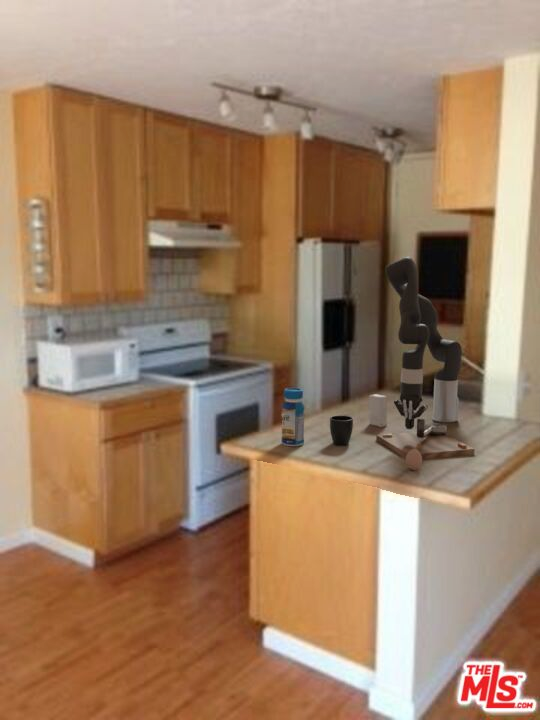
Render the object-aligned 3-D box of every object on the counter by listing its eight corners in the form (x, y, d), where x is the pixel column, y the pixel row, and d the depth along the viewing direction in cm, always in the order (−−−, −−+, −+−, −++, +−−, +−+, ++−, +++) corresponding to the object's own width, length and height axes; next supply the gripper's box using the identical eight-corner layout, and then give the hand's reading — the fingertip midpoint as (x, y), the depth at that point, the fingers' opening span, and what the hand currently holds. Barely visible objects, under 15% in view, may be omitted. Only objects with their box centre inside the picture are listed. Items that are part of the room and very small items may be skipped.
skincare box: (387, 425, 268) (388, 396, 266) (379, 427, 266) (380, 397, 264) (375, 422, 273) (376, 393, 271) (368, 424, 270) (369, 394, 268)
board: (436, 435, 255) (437, 427, 254) (474, 454, 231) (474, 446, 230) (376, 440, 248) (376, 432, 247) (408, 460, 224) (408, 451, 223)
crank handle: (426, 427, 257) (426, 406, 255) (449, 431, 252) (450, 409, 251) (406, 441, 238) (407, 418, 237) (431, 445, 234) (432, 421, 232)
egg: (406, 466, 218) (406, 446, 217) (422, 468, 216) (423, 447, 215) (404, 471, 213) (405, 450, 212) (421, 473, 211) (422, 452, 210)
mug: (357, 439, 249) (358, 414, 247) (348, 447, 238) (349, 421, 236) (336, 436, 252) (336, 412, 250) (326, 445, 241) (327, 419, 239)
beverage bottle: (306, 446, 239) (307, 391, 236) (283, 447, 238) (283, 392, 235) (301, 439, 248) (302, 386, 244) (279, 440, 246) (279, 387, 243)
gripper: (389, 379, 238) (387, 427, 240) (422, 384, 228) (419, 434, 231) (401, 376, 243) (399, 423, 246) (433, 382, 234) (431, 430, 237)
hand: (409, 428), depth 238 cm, fingers closed
